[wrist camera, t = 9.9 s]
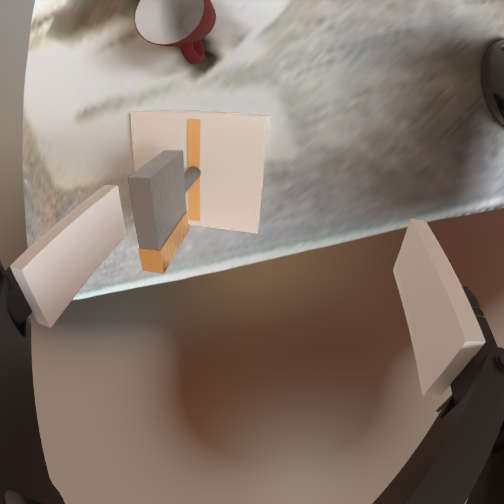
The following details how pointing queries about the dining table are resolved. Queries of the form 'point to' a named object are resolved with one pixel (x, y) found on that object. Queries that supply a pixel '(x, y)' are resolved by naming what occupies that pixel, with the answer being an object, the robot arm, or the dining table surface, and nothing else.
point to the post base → (210, 161)
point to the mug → (176, 24)
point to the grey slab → (159, 209)
